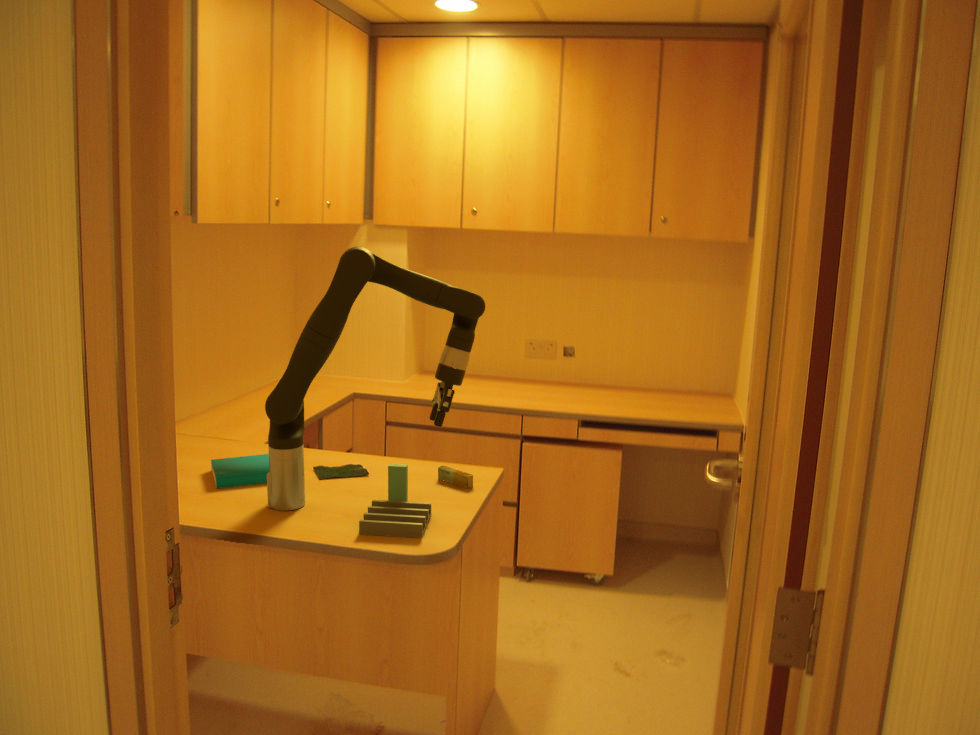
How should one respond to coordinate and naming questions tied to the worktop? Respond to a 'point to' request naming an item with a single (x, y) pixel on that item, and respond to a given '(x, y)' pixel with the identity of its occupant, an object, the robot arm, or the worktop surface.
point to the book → (240, 470)
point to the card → (398, 482)
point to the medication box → (455, 476)
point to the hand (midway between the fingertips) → (435, 423)
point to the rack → (396, 518)
